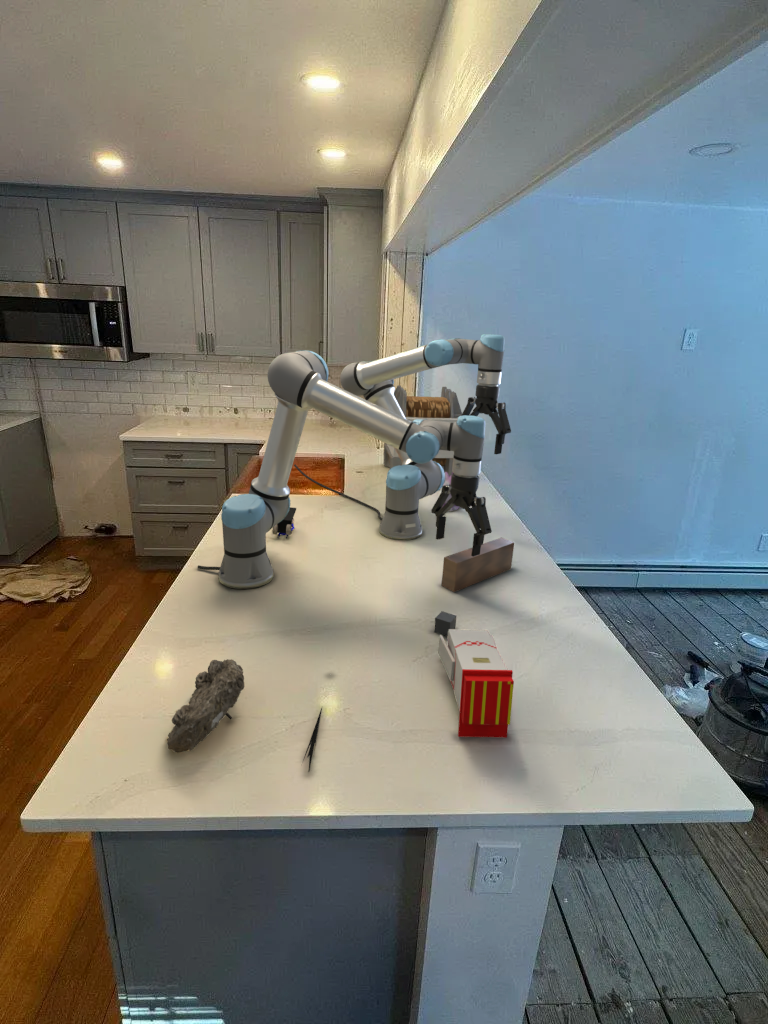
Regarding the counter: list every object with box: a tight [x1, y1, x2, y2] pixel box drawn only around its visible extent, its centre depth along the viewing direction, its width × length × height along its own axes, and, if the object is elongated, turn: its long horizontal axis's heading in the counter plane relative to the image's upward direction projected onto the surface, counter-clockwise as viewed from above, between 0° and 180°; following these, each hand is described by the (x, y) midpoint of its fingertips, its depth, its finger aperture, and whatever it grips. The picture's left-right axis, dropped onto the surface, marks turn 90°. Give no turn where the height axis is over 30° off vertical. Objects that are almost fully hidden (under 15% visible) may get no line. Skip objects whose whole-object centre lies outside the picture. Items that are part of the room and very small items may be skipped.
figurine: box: [442, 472, 460, 512], centre depth 226 cm, size 9×10×15 cm
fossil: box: [166, 658, 245, 754], centre depth 106 cm, size 22×10×15 cm
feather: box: [301, 673, 332, 771], centre depth 108 cm, size 2×28×2 cm
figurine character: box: [271, 506, 297, 540], centre depth 194 cm, size 7×8×15 cm
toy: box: [437, 628, 515, 738], centre depth 117 cm, size 12×13×30 cm
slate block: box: [433, 610, 458, 637], centre depth 140 cm, size 4×4×4 cm
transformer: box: [383, 384, 463, 476], centre depth 268 cm, size 34×33×41 cm
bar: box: [441, 537, 515, 593], centre depth 169 cm, size 26×5×9 cm, turn 131°
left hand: (457, 546), depth 160 cm, fingers open, 13 cm apart
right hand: (481, 449), depth 189 cm, fingers open, 13 cm apart
